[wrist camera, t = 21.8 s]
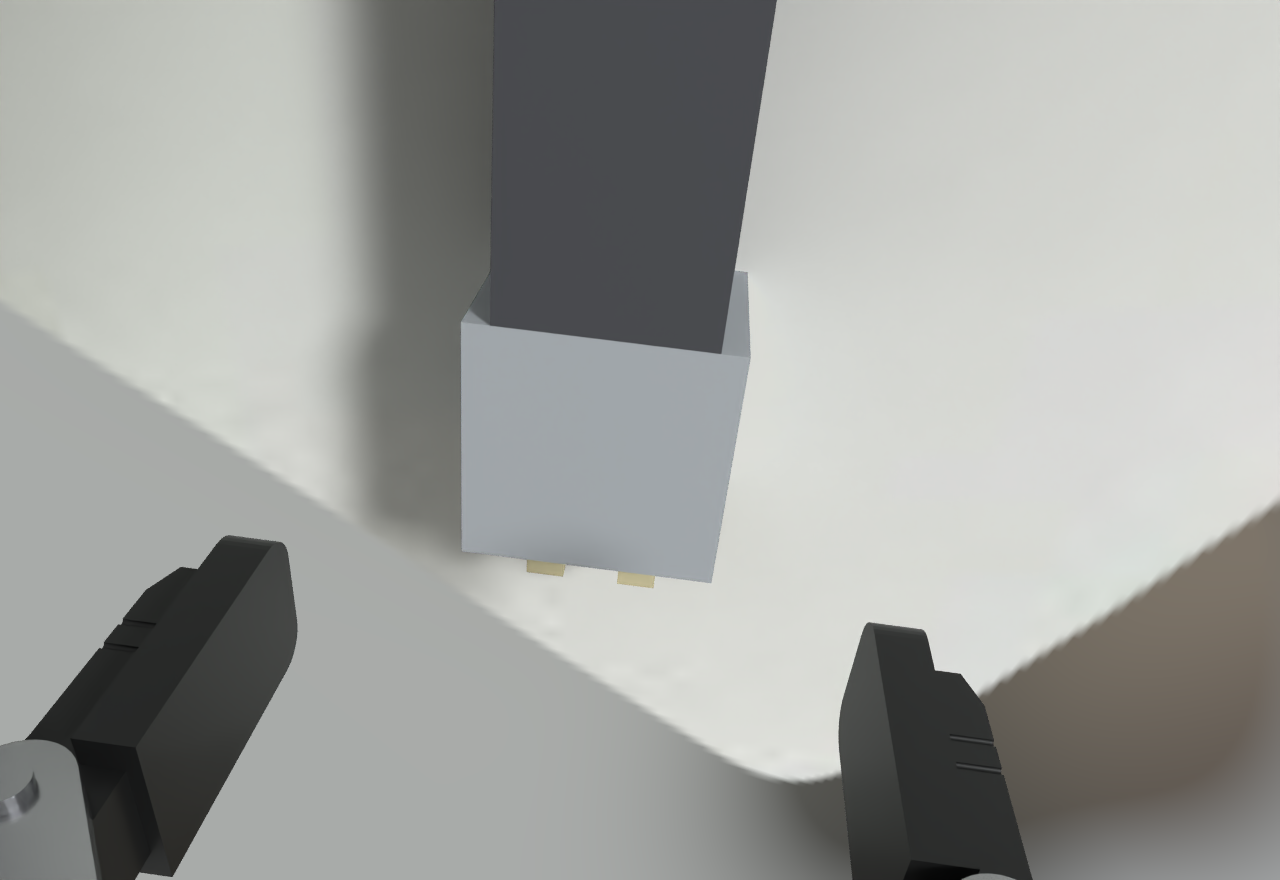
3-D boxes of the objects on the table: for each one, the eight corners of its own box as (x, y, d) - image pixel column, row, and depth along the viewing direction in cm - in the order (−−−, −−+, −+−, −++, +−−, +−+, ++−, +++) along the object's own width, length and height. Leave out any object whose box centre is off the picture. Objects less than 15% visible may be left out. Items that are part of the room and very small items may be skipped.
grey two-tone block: (933, -862, 12) (1013, -1152, 8) (705, 524, 23) (701, 638, 20) (534, -900, 12) (457, -1201, 9) (501, 498, 23) (461, 607, 20)
